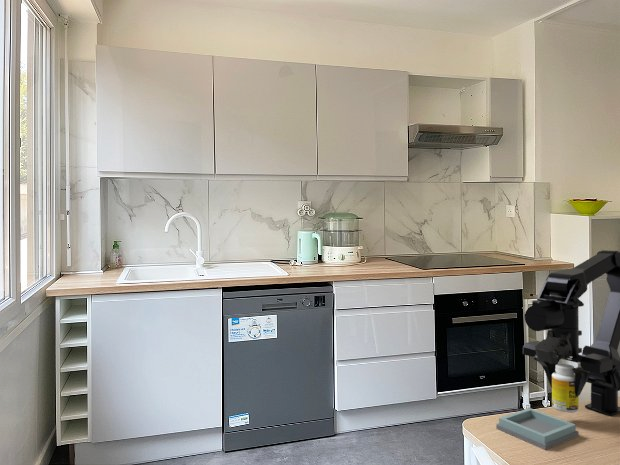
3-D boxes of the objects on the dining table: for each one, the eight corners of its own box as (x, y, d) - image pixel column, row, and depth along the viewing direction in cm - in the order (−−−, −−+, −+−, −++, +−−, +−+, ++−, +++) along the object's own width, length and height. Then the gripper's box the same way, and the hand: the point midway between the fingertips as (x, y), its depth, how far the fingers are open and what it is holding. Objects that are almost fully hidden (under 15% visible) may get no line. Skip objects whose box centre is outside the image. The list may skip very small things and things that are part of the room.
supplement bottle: (570, 415, 107) (570, 371, 107) (547, 407, 112) (546, 365, 112) (583, 409, 110) (583, 366, 110) (559, 402, 115) (559, 361, 115)
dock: (529, 417, 114) (529, 407, 114) (578, 436, 103) (578, 424, 103) (496, 428, 108) (496, 417, 108) (545, 449, 97) (545, 437, 97)
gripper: (508, 323, 115) (508, 386, 115) (585, 338, 99) (585, 412, 99) (536, 318, 120) (536, 378, 120) (613, 332, 104) (614, 401, 104)
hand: (565, 391), depth 111 cm, fingers closed on supplement bottle, 5 cm apart
